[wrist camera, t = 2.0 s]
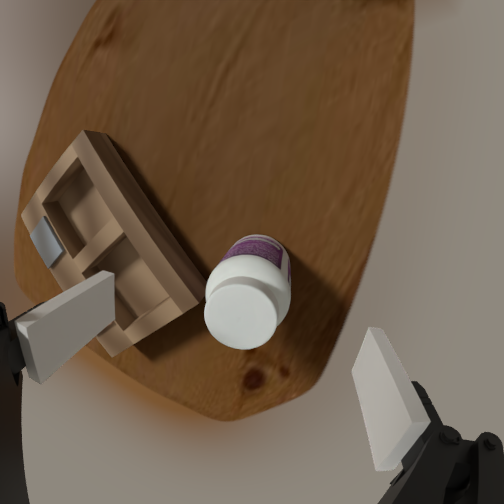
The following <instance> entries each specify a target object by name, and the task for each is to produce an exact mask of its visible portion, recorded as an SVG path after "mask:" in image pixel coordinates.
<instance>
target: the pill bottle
mask: <svg viewBox="0 0 504 504" xmlns="http://www.w3.org/2000/svg"><path fill="white" fill-rule="evenodd" d="M290 301H291V271H290V260H289V257H288V254H287V252H286V250H285V249H284V247H283V246H282V245H281V244H280V243H279V242H278V241H276V240H275V239H273V238H271V237H268V236H265V235H250V236H246V237H244V238H242V239H240V240H239V241H237V242H236V243H235V244H234V245H233V246H232V247H231V248H230V250H229V251H228V252H227V254H226V255H225V256H224V257H223V259H222V260H221V261H220V262H219V264H218V265H217V266H216V267H215V269H214V270H213V271H212V273H211V275H210V277H209V279H208V282H207V285H206V305H205V310H204V318H205V323H206V325H207V327H208V329H209V331H210V333H211V334H212V335H213V336H214V337H215V338H216V339H217V340H218V341H219V342H221V343H223V344H224V345H227V346H229V347H232V348H236V349H252V348H255V347H258V346H261V345H262V344H264V343H266V342H267V341H268V340H269V339H270V338H271V337H272V335H273V334H274V332H275V330H276V327H277V326H278V325H279V324H280V323H281V322H282V321H283V319H284V318H285V316H286V314H287V312H288V309H289V306H290Z"/></svg>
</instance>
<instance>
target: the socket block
mask: <svg viewBox="0 0 504 504" xmlns="http://www.w3.org/2000/svg"><path fill="white" fill-rule="evenodd" d="M21 217H22V219H23V221H24V223H25V225H26V227H27V229H28V231H29V233H30V237H31V239H32V241H33V243H34V245H35V246H36V248H37V250H38V252H39V254H40V256H41V257H42V259H43V261H44V263H45V264H46V266H47V268H48V269H50V271H51V273H52V274H53V276H54V277H55V279H56V281H57V282H58V284H59V285H60V287H61V289H62V290H63V292H64V291H66V290H68V289H70V288H72V287H73V286H75V285H77V284H79V283H81V282H82V281H84V280H86V279H88V278H90V277H92V276H93V275H95V274H97V273H99V272H101V271H103V270H104V271H107V272H111V273H114V298H115V320H114V321H112V322H111V323H110V324H109V325H108V326H107V327H105V328H104V329H103V330H102V331H101V332H100V333H98V334H97V335H96V336H95V337H96V338H97V339H98V341H99V342H100V343H101V345H102V346H103V347H104V348H105V350H106V351H107V352H108V353H109V354H110V356H111V357H114V356H115V355H117V354H119V353H120V352H122V351H124V350H125V349H127V348H128V347H130V346H132V345H133V344H135V343H137V342H138V341H140V340H141V339H143V338H145V337H146V336H148V335H149V334H151V333H153V332H154V331H156V330H158V329H159V328H161V327H162V326H164V325H166V324H167V323H169V322H170V321H172V320H174V319H175V318H177V317H178V316H180V315H182V314H183V313H185V312H186V311H188V310H190V309H191V308H193V307H194V306H196V305H197V304H199V303H200V302H201V300H202V299H203V297H204V296H205V295H206V285H207V282H206V280H205V279H204V278H203V276H202V275H201V273H200V272H199V271H198V269H197V268H196V267H195V265H194V264H193V263H192V261H191V260H190V258H189V257H188V256H187V254H186V253H185V252H184V250H183V249H182V247H181V246H180V245H179V243H178V242H177V240H176V239H175V238H174V236H173V235H172V233H171V232H170V230H169V229H168V228H167V226H166V225H165V223H164V222H163V220H162V219H161V218H160V216H159V215H158V213H157V212H156V210H155V209H154V207H153V206H152V204H151V203H150V201H149V200H148V198H147V197H146V196H145V194H144V193H143V191H142V190H141V188H140V187H139V185H138V184H137V182H136V180H135V179H134V177H133V176H132V174H131V173H130V171H129V170H128V168H127V167H126V165H125V164H124V162H123V160H122V159H121V157H120V156H119V154H118V153H117V151H116V149H115V148H114V146H113V145H112V143H111V141H110V140H109V138H108V137H107V135H106V133H100V132H94V131H87V130H83V131H82V132H81V133H80V134H79V135H78V136H77V138H76V139H75V140H74V141H73V142H72V144H71V145H70V146H69V147H68V148H67V150H66V151H65V152H64V154H63V155H62V156H61V157H60V159H59V160H58V161H57V163H56V164H55V165H54V167H53V168H52V169H51V171H50V172H49V173H48V175H47V176H46V178H45V179H44V180H43V182H42V183H41V185H40V186H39V188H38V189H37V191H36V192H35V194H34V195H33V197H32V198H31V200H30V201H29V203H28V205H27V206H26V208H25V209H24V211H23V213H22V214H21Z"/></svg>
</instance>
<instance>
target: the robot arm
mask: <svg viewBox="0 0 504 504" xmlns="http://www.w3.org/2000/svg"><path fill="white" fill-rule="evenodd" d="M114 320H115V298H114V273H111V272H107V271H104V270H103V271H101V272H99V273H97V274H95V275H93V276H92V277H90V278H88V279H86V280H84V281H82V282H81V283H79V284H77V285H75V286H73V287H72V288H70V289H68V290H66V291H64V292H63V293H61V294H59V295H57V296H56V297H54V298H52V299H50V300H49V301H46V302H42V303H40V304H38V305H36V306H34V307H33V308H31V309H29V310H28V311H27V312H24V313H22V314H21V315H19V316H17V317H16V318H14V319H12V320H11V321H9V322H8V318H7V313H6V309H5V305H4V304H3V303H2V302H0V504H30V503H29V498H28V493H27V486H26V480H25V472H24V462H23V450H22V428H21V403H22V380H23V375H22V371H21V370H22V369H23V368H24V367H25V366H26V368H27V372H28V374H29V377H30V378H31V379H33V380H35V381H36V382H38V383H39V384H42V383H43V382H44V381H45V380H47V379H48V378H49V377H50V376H51V375H52V374H53V373H54V372H55V371H57V370H58V369H59V368H60V367H61V366H62V365H63V364H64V363H65V362H67V361H68V360H69V359H70V358H71V357H72V356H73V355H74V354H76V353H77V352H78V351H79V350H80V349H81V348H82V347H83V346H85V345H86V344H87V343H88V342H89V341H90V340H91V339H93V338H94V337H95V336H96V335H97V334H98V333H100V332H101V331H102V330H103V329H104V328H105V327H107V326H108V325H109V324H110V323H111V322H112V321H114ZM351 372H352V376H353V380H354V383H355V387H356V391H357V394H358V398H359V402H360V406H361V410H362V414H363V418H364V422H365V426H366V430H367V434H368V439H369V443H370V447H371V452H372V456H373V461H374V466H375V470H376V471H388V470H394V469H395V468H396V466H397V465H398V464H399V463H400V461H401V462H402V465H403V469H402V471H401V472H400V473H399V474H398V475H397V476H396V477H395V478H394V479H393V480H392V482H391V483H390V484H391V486H390V487H389V489H388V490H387V492H386V493H385V494H384V496H383V497H382V499H381V500H380V501H379V503H378V504H504V452H503V445H502V442H501V440H500V439H499V438H498V436H496V435H495V434H493V433H490V432H484V433H481V434H480V436H479V437H478V438H477V439H476V441H469V440H463V439H462V438H461V435H460V434H459V432H458V431H457V430H455V429H454V428H452V427H449V426H445V425H443V423H442V421H441V419H440V418H439V416H438V414H437V412H436V410H435V408H434V406H433V405H432V402H431V400H430V398H428V395H427V393H426V391H425V389H424V388H423V387H422V386H421V385H420V384H419V383H418V382H417V381H410V379H409V377H408V375H407V373H406V371H405V369H404V367H403V365H402V364H401V362H400V360H399V358H398V356H397V355H396V353H395V351H394V349H393V347H392V345H391V343H390V342H389V340H388V338H387V336H386V335H385V333H384V331H383V329H380V328H373V327H368V330H367V333H366V335H365V339H364V341H363V343H362V346H361V349H360V351H359V354H358V356H357V359H356V361H355V364H354V366H353V369H352V371H351Z"/></svg>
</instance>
